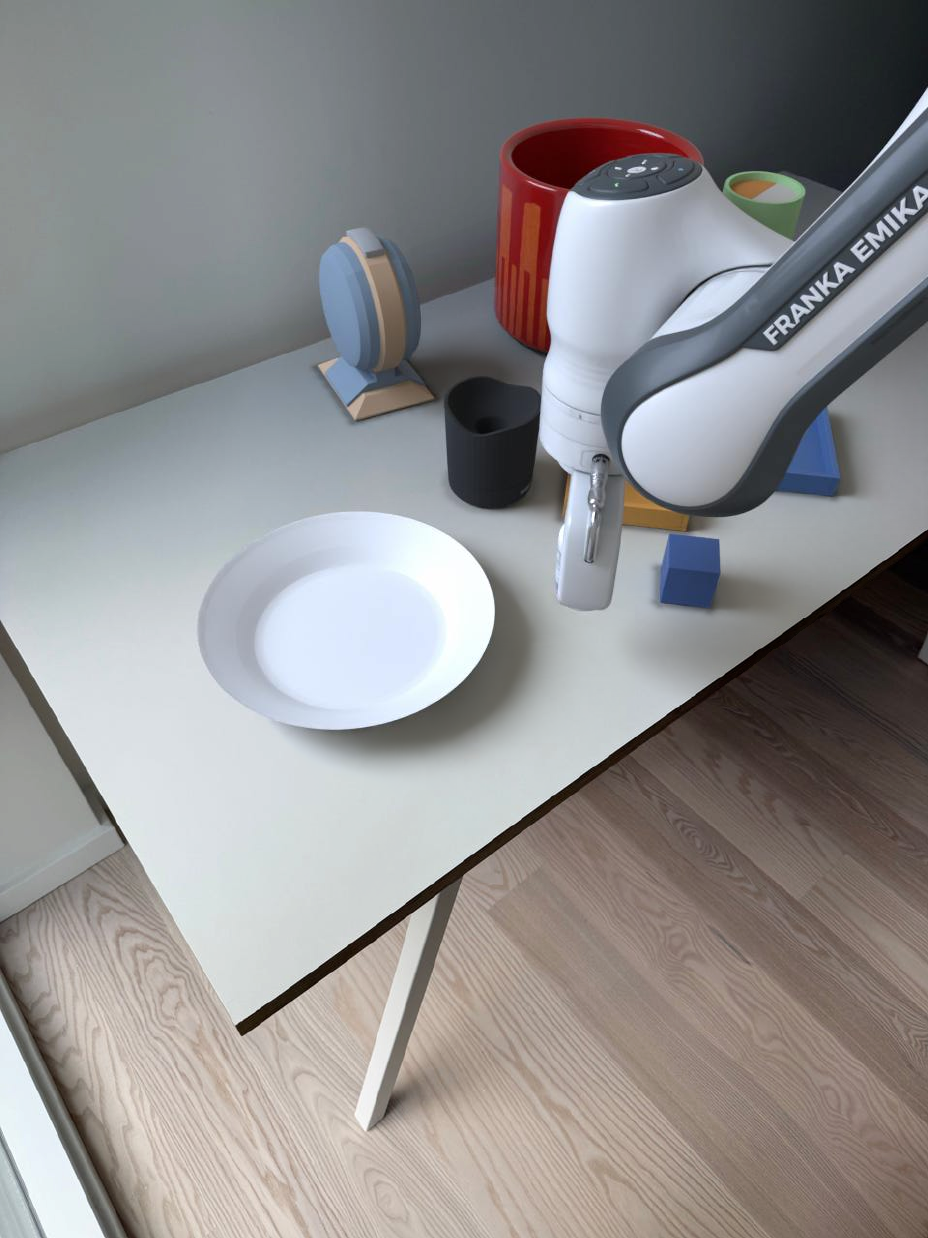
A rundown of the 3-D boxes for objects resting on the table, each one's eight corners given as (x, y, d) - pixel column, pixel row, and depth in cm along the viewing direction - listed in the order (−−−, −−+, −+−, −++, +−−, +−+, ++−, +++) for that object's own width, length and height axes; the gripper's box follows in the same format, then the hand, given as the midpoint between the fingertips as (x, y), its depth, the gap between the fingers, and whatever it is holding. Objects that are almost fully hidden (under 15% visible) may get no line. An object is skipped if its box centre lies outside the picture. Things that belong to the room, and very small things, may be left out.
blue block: (709, 574, 84) (719, 538, 81) (710, 608, 81) (720, 573, 78) (660, 568, 84) (669, 533, 81) (659, 602, 81) (668, 567, 78)
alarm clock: (438, 404, 102) (436, 253, 89) (358, 425, 99) (344, 273, 86) (389, 344, 111) (381, 198, 98) (315, 362, 108) (296, 215, 95)
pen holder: (468, 523, 88) (469, 440, 81) (430, 469, 94) (428, 387, 87) (551, 497, 91) (560, 415, 84) (509, 446, 97) (514, 365, 89)
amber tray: (685, 445, 97) (689, 426, 95) (685, 531, 88) (690, 513, 86) (573, 433, 99) (576, 415, 97) (562, 517, 89) (564, 498, 87)
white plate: (147, 643, 78) (136, 616, 75) (356, 504, 90) (353, 476, 88) (344, 814, 66) (339, 789, 64) (551, 628, 79) (554, 600, 76)
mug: (794, 274, 124) (820, 184, 115) (757, 302, 118) (781, 210, 109) (715, 246, 129) (734, 158, 120) (676, 271, 124) (693, 182, 115)
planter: (556, 387, 105) (573, 213, 90) (461, 300, 118) (462, 136, 103) (709, 337, 112) (749, 169, 97) (603, 261, 126) (623, 103, 111)
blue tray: (819, 416, 101) (825, 398, 99) (833, 496, 92) (840, 478, 90) (710, 405, 102) (714, 387, 100) (712, 483, 93) (717, 465, 91)
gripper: (648, 521, 53) (620, 669, 63) (656, 341, 66) (632, 486, 76) (542, 510, 53) (531, 658, 64) (571, 334, 67) (559, 479, 77)
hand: (586, 563), depth 70 cm, fingers closed on pill bottle, 5 cm apart
